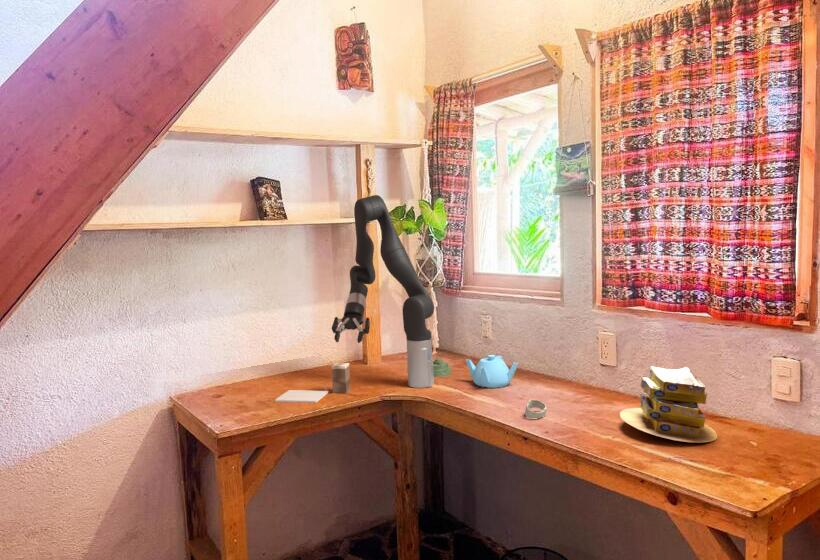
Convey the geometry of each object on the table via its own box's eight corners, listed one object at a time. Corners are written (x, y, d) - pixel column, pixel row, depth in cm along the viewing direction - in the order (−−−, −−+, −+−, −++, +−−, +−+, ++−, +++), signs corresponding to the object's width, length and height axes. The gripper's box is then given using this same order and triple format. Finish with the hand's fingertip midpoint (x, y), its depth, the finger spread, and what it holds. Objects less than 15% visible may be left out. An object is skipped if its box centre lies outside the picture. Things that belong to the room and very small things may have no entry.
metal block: (350, 389, 225) (349, 363, 224) (346, 393, 220) (345, 366, 219) (337, 389, 226) (336, 362, 225) (332, 393, 221) (331, 365, 220)
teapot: (520, 386, 221) (520, 357, 220) (482, 391, 216) (481, 361, 215) (501, 377, 235) (501, 349, 235) (465, 381, 231) (464, 353, 230)
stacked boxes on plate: (714, 421, 177) (714, 363, 175) (721, 451, 154) (721, 385, 152) (623, 413, 186) (623, 359, 185) (617, 441, 163) (616, 379, 162)
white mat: (328, 392, 222) (328, 390, 222) (316, 402, 209) (315, 401, 209) (289, 391, 225) (289, 390, 225) (274, 401, 212) (274, 400, 212)
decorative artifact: (423, 376, 241) (448, 377, 238) (422, 359, 241) (447, 359, 238) (429, 370, 251) (453, 371, 248) (428, 353, 250) (452, 354, 247)
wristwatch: (530, 410, 193) (529, 394, 193) (550, 412, 190) (549, 396, 190) (521, 419, 185) (521, 402, 184) (542, 421, 182) (542, 404, 182)
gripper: (335, 301, 240) (327, 335, 230) (371, 301, 238) (364, 336, 227) (340, 312, 246) (332, 346, 236) (374, 312, 243) (368, 347, 233)
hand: (347, 341), depth 232 cm, fingers open, 8 cm apart
